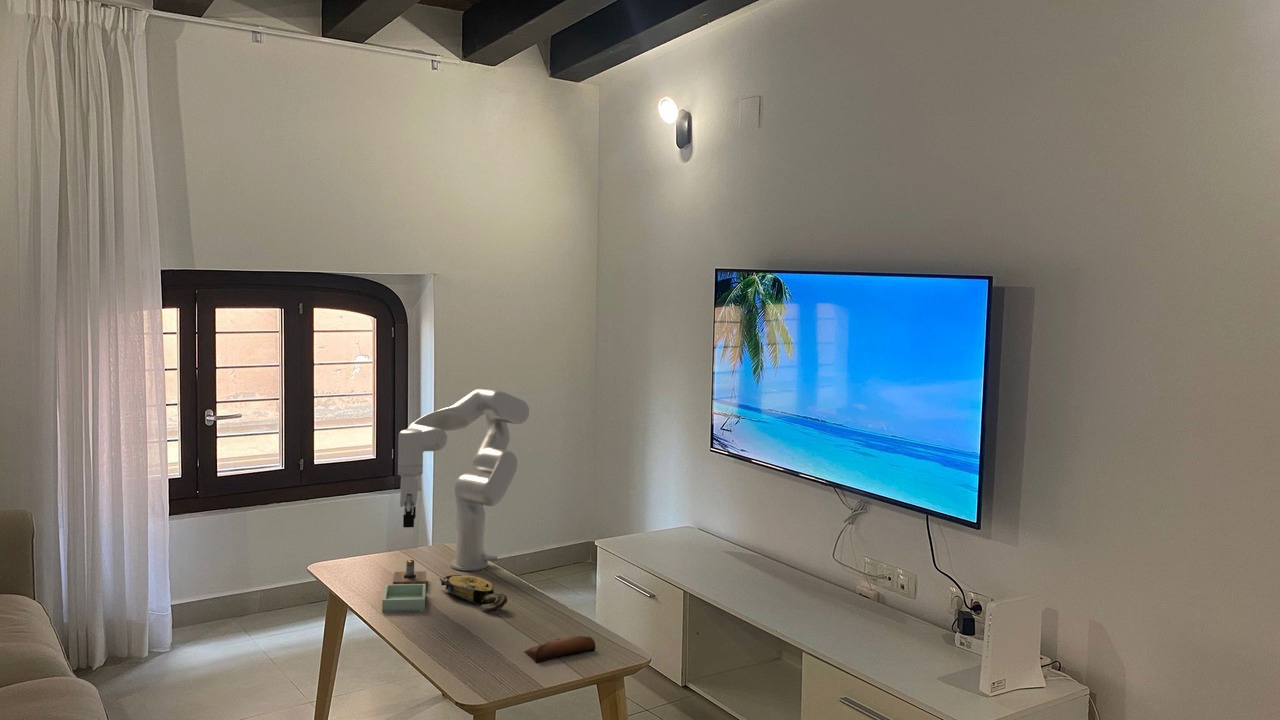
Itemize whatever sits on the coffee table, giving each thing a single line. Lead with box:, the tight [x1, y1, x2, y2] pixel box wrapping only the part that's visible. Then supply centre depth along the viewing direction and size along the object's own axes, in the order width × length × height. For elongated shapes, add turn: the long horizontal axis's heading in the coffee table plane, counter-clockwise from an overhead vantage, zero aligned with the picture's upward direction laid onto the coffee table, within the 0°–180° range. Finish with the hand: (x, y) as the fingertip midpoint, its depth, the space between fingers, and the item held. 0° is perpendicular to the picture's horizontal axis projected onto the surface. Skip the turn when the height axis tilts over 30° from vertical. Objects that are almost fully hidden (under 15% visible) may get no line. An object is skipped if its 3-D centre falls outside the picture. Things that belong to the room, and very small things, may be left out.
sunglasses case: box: [523, 635, 596, 663], centre depth 254 cm, size 18×7×7 cm
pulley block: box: [439, 574, 509, 613], centre depth 291 cm, size 14×6×30 cm
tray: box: [381, 583, 427, 613], centre depth 285 cm, size 12×14×4 cm
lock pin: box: [405, 559, 415, 578], centre depth 300 cm, size 2×2×8 cm
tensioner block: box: [392, 570, 427, 585], centre depth 300 cm, size 10×10×3 cm
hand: (409, 522), depth 298 cm, fingers open, 9 cm apart
